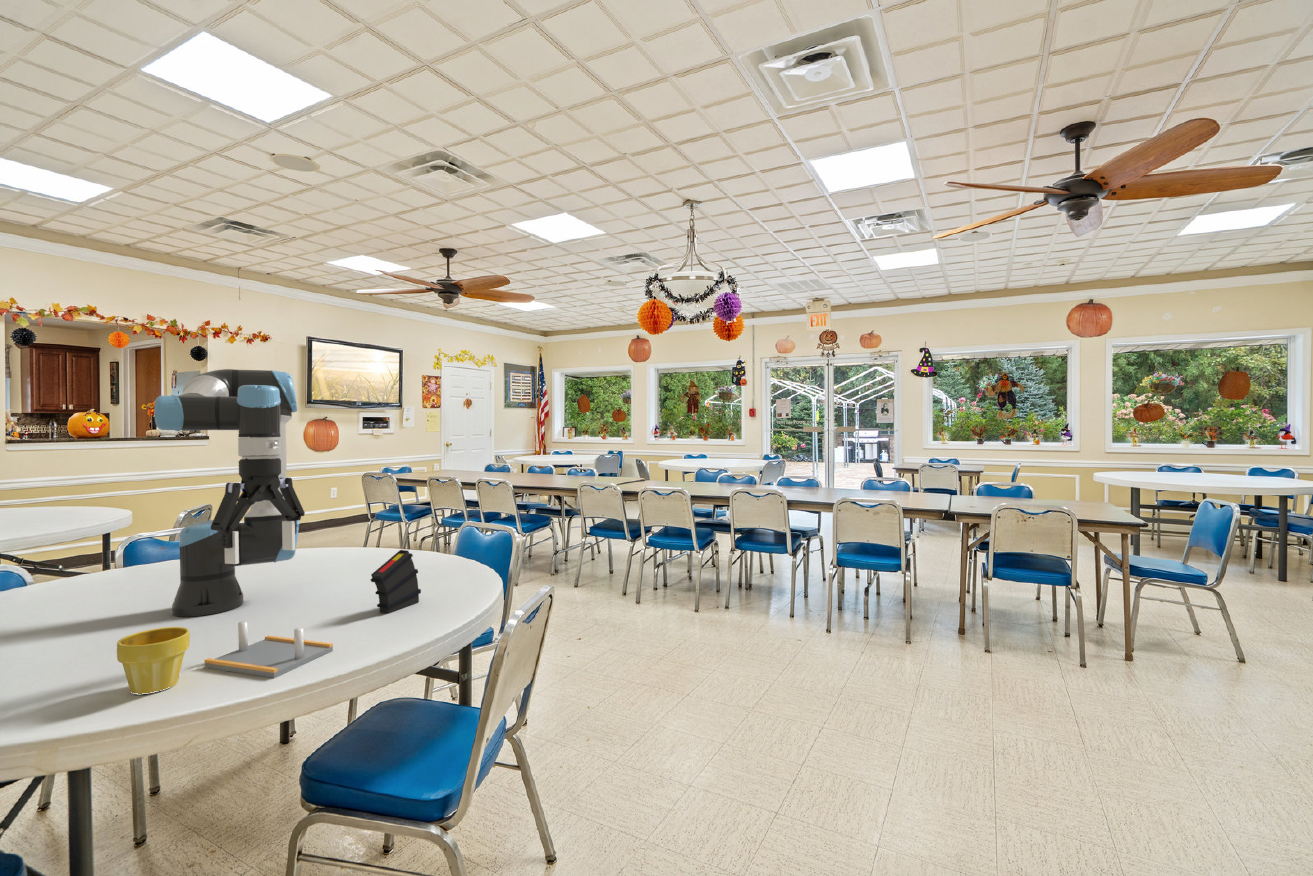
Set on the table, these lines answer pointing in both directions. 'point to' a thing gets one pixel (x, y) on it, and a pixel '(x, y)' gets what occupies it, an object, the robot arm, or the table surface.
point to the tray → (269, 654)
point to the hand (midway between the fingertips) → (261, 556)
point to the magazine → (396, 583)
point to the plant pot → (153, 658)
